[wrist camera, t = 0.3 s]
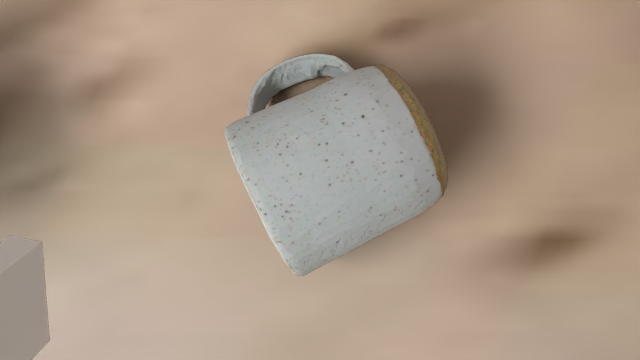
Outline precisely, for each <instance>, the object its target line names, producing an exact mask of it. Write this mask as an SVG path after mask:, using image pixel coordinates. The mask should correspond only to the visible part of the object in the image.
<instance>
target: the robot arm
mask: <svg viewBox="0 0 640 360" xmlns="http://www.w3.org/2000/svg"><path fill="white" fill-rule="evenodd" d="M49 341H50V335H49V323H48V310H47V297H46V284H45V271H44V258H43V245H42V241H36V240H31V239H26V238H20V237H15V236H9V237H8V238H6V239H5V240H3V241H2V242H0V360H32V359H33V358H34V357H35V356H36V355H37V354H38V353H39V351H40V350H41V349H42V348H43V347H44V346H45V345H46V344H47V343H48V342H49Z"/></svg>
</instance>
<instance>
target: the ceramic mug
mask: <svg viewBox="0 0 640 360" xmlns="http://www.w3.org/2000/svg"><path fill="white" fill-rule="evenodd" d="M318 76H329V77H333V79H331V80H329V81H327V82H325V83H323V84H321V85H319V86H317V87H315V88H313V89H311V90H309V91H306V92H304V93H302V94H299V95H297V96H294V97H292V98H289V99H287V100H285V101H282V102H280V103H277V104H275V105H272V106H270V107H268V108H265V107H266V105H267V104H268V102H269V100H270V99H271V98H272V97H273V96H275V95H276V94H277V93H278V92H279V91H281V90H283V89H285V88H287V87H289V86H292V85H294V84H297V83H300V82H303V81H305V80H307V79H314V78H316V77H318ZM225 137H226V140H227V144H228V146H229V149H230V152H231V155H232V158H233V160H234V163H235V166H236V168H237V170H238V172H239V174H240V177H241V179H242V181H243V183H244V186H245V188H246V189H247V191H248V194H249V196H250V198H251V200H252V202H253V204H254V206H255V208H256V210H257V212H258V214H259V216H260V219H261V221H262V223H263V225H264V227H265V229H266V231H267V233H268V235H269V237H270V239H271V240H272V242H273V244H274V245H275V247H276V248H277V250H278V251H279V252H280V254H281V256H282V258H283V260H284V262H285V263H286V265H287V266H288V267H289V268H290V269H291V271H292V272H293V273H295V274H296V275H297V276H304V275H306V274H308V273H310V272H311V271H313V270H315V269H317V268H319V267H321V266H322V265H324V264H326V263H328V262H330V261H332V260H334V259H336V258H338V257H340V256H342V255H344V254H346V253H347V252H349V251H351V250H353V249H355V248H357V247H359V246H361V245H362V244H364V243H366V242H368V241H370V240H372V239H373V238H375V237H377V236H379V235H381V234H383V233H385V232H387V231H389V230H390V229H392V228H394V227H396V226H398V225H400V224H402V223H404V222H406V221H408V220H410V219H412V218H414V217H416V216H418V215H419V214H421V213H422V212H423V211H425V210H426V209H427V208H429V207H430V206H432V205H433V204H434V203H436V202H437V201H438V200H439V199H440V198H441V197H442V196H443V194H444V192H445V189H446V187H447V181H448V172H447V165H446V161H445V157H444V154H443V151H442V148H441V145H440V142H439V140H438V138H437V135H436V133H435V130H434V128H433V126H432V124H431V122H430V120H429V118H428V116H427V114H426V112H425V110H424V108H423V107H422V105H421V103H420V102H419V100H418V99H417V97H416V96H415V94H414V93H413V91H412V90H411V89H410V87H409V86H408V84H407V83H406V82H405V80H404V79H403V78H402V77H401V76H400V75H399V74H398V73H396V72H395V71H394V70H392V69H389V68H387V67H385V66H382V65H374V66H369V67H364V68H361V69H357V70H354V69H353V68H352V67H350V65H349V64H348V63H347V62H345V61H343V60H341V59H340V58H338V57H336V56H333V55H328V54H307V55H302V56H298V57H294V58H291V59H289V60H286V61H284V62H281V63H279V64H277V65H276V66H274V67H272V68H271V69H269V70H268V71H267V72H266V73H265V74H263V75H262V76H261V77H260V79H259V80H258V81H257V82H256V84H255V86H254V87H253V89H252V92H251V95H250V98H249V102H248V116H247V117H245V118H242V119H240V120H237V121H235V122H233V123H231V124H230V125H229V126H227V127H226V129H225Z"/></svg>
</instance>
